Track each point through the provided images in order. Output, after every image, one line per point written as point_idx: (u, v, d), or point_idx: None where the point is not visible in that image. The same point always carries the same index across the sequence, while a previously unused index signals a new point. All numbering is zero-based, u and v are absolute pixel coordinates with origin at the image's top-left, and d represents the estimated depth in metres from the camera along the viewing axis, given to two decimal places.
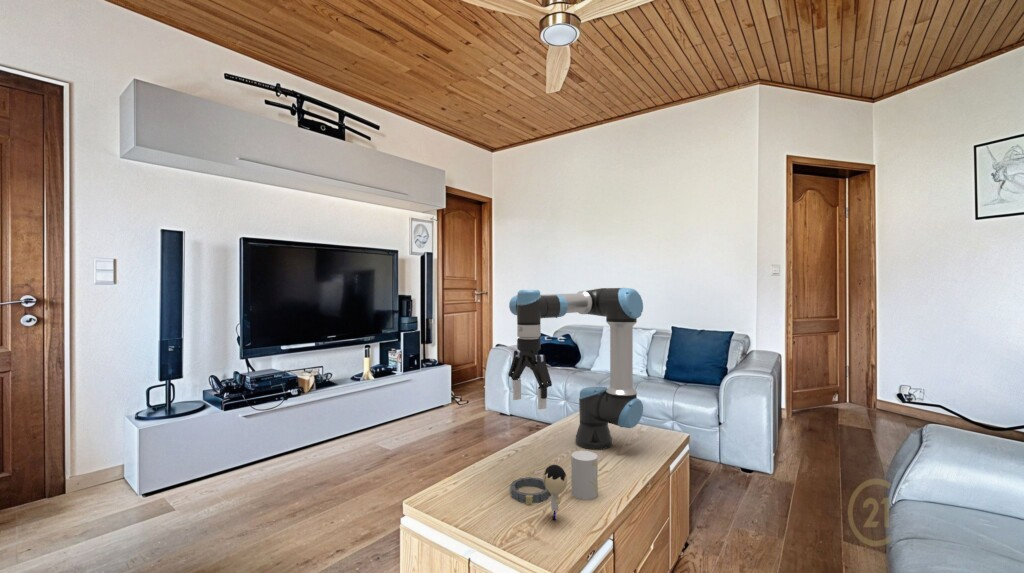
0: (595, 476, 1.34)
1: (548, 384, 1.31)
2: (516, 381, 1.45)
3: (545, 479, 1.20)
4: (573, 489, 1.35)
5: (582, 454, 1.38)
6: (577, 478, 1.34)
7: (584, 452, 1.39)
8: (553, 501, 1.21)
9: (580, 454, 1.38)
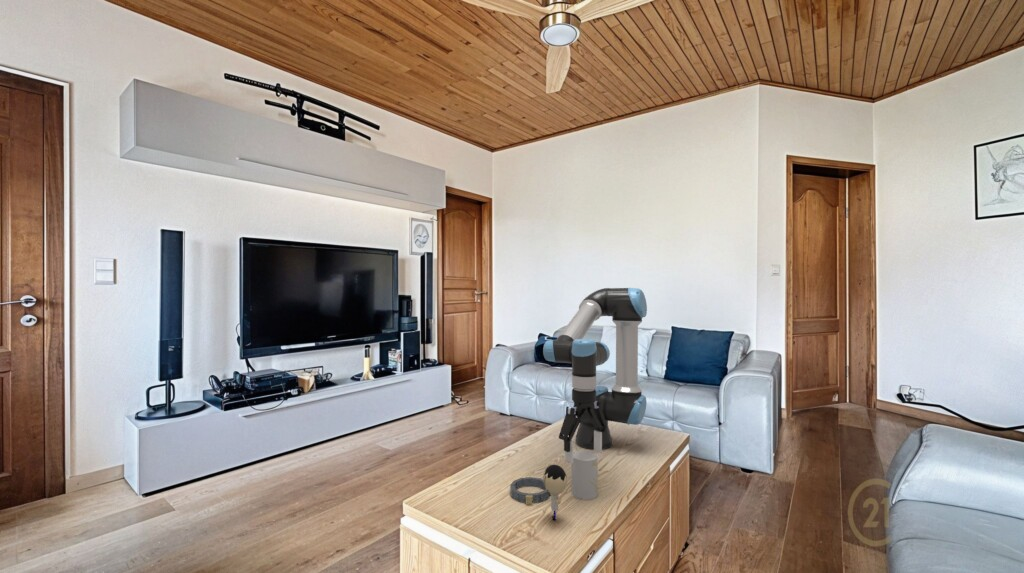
0: (595, 476, 1.34)
1: (561, 437, 1.30)
2: (595, 432, 1.41)
3: (545, 479, 1.20)
4: (573, 489, 1.35)
5: (582, 454, 1.38)
6: (577, 478, 1.34)
7: (584, 452, 1.39)
8: (553, 501, 1.21)
9: (580, 454, 1.38)
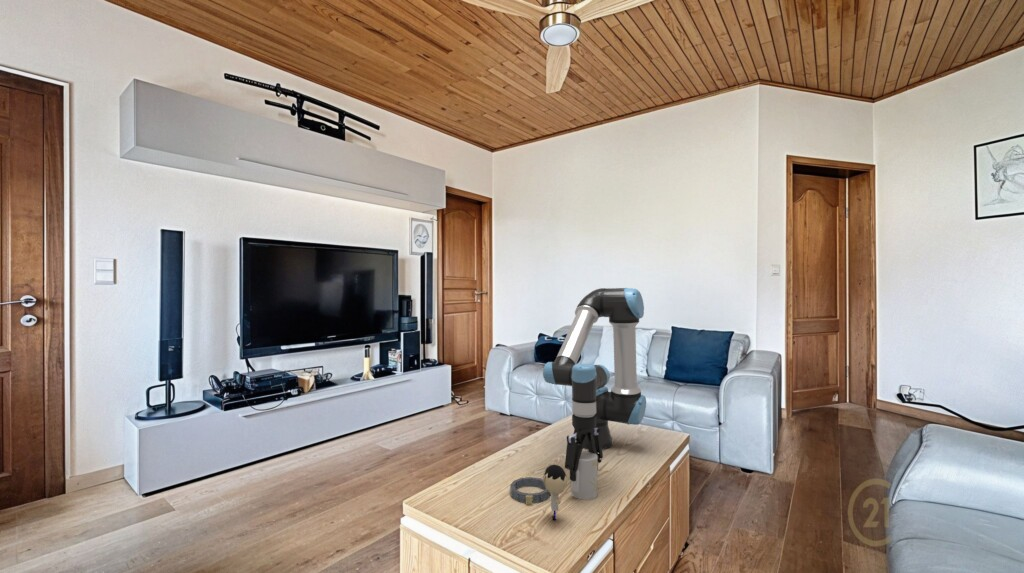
0: (595, 476, 1.34)
1: (567, 467, 1.32)
2: None
3: (545, 479, 1.20)
4: None
5: (582, 454, 1.38)
6: None
7: (584, 452, 1.39)
8: (553, 501, 1.21)
9: None
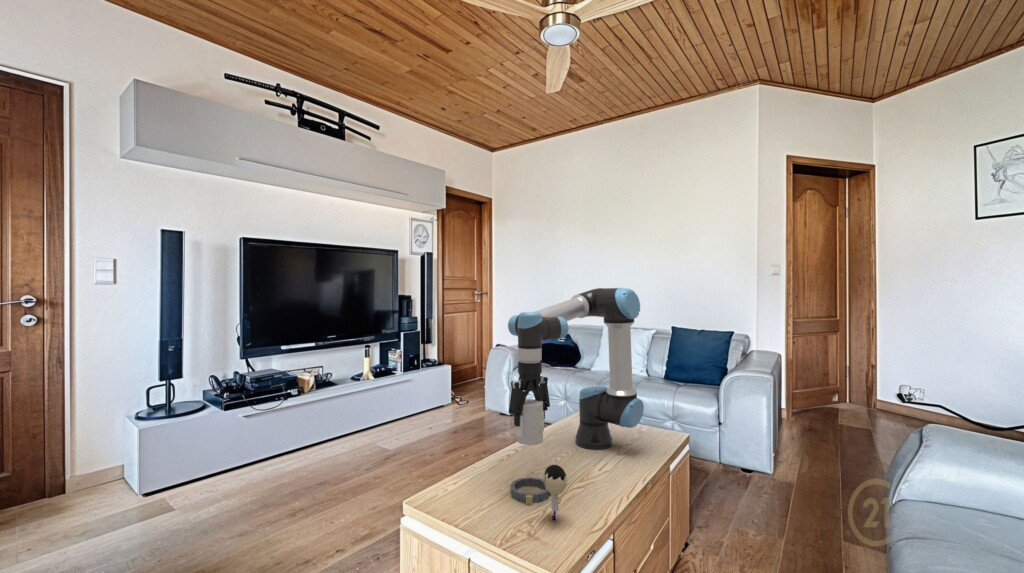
0: (539, 422, 1.34)
1: (511, 412, 1.32)
2: None
3: (545, 479, 1.20)
4: None
5: (528, 401, 1.38)
6: None
7: (531, 400, 1.40)
8: (553, 501, 1.21)
9: (526, 401, 1.38)
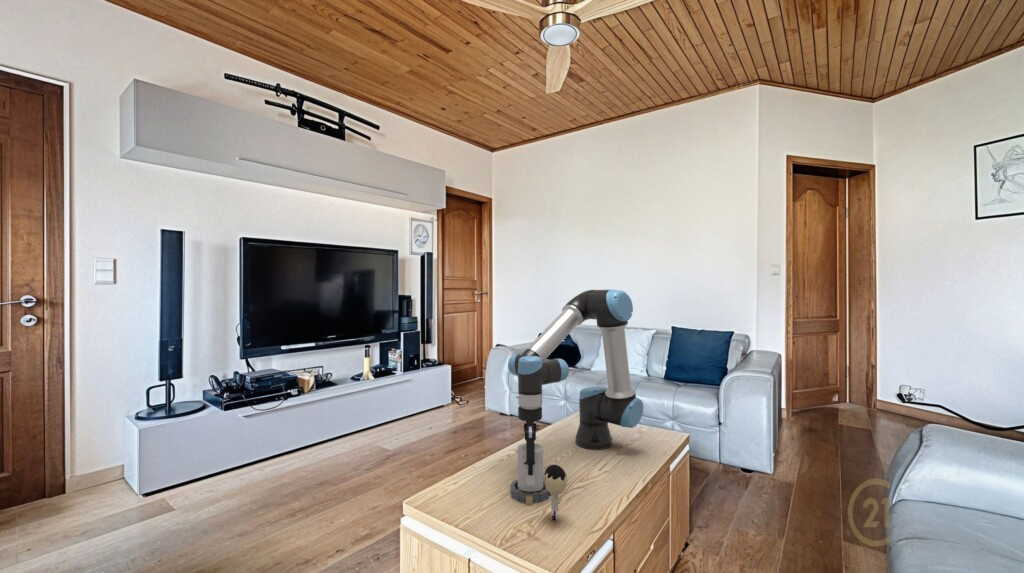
0: None
1: (530, 462, 1.29)
2: None
3: (545, 479, 1.20)
4: None
5: None
6: None
7: (525, 445, 1.39)
8: (553, 501, 1.21)
9: (525, 447, 1.37)
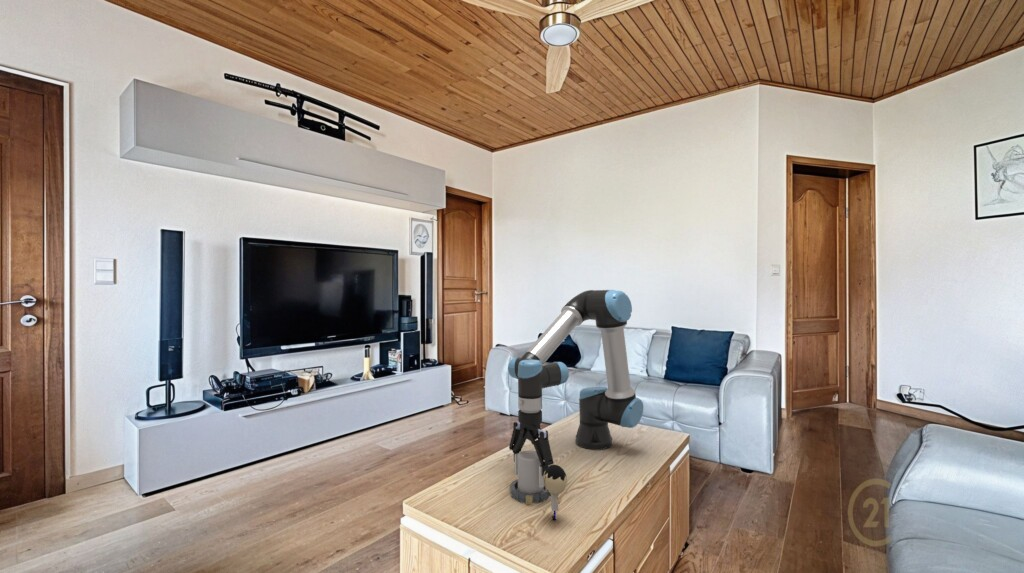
0: None
1: (550, 462, 1.30)
2: None
3: (545, 479, 1.20)
4: (536, 491, 1.33)
5: (527, 456, 1.37)
6: None
7: (522, 454, 1.38)
8: (553, 501, 1.21)
9: (527, 456, 1.36)
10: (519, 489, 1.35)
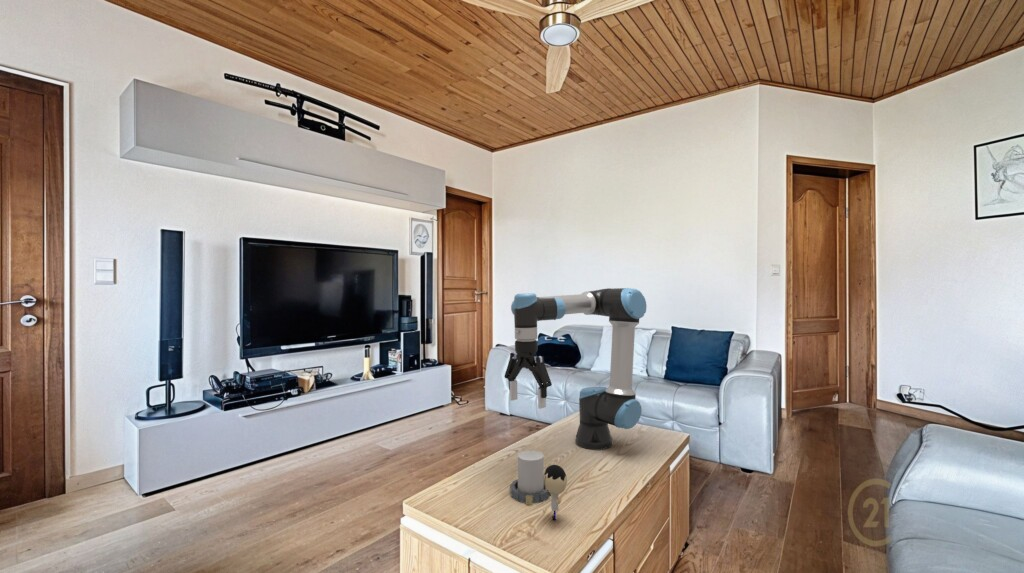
0: None
1: (548, 384, 1.37)
2: (513, 382, 1.49)
3: (545, 479, 1.20)
4: (536, 491, 1.33)
5: (527, 456, 1.37)
6: (540, 477, 1.34)
7: (522, 454, 1.38)
8: (553, 501, 1.21)
9: (527, 456, 1.36)
10: (519, 489, 1.35)
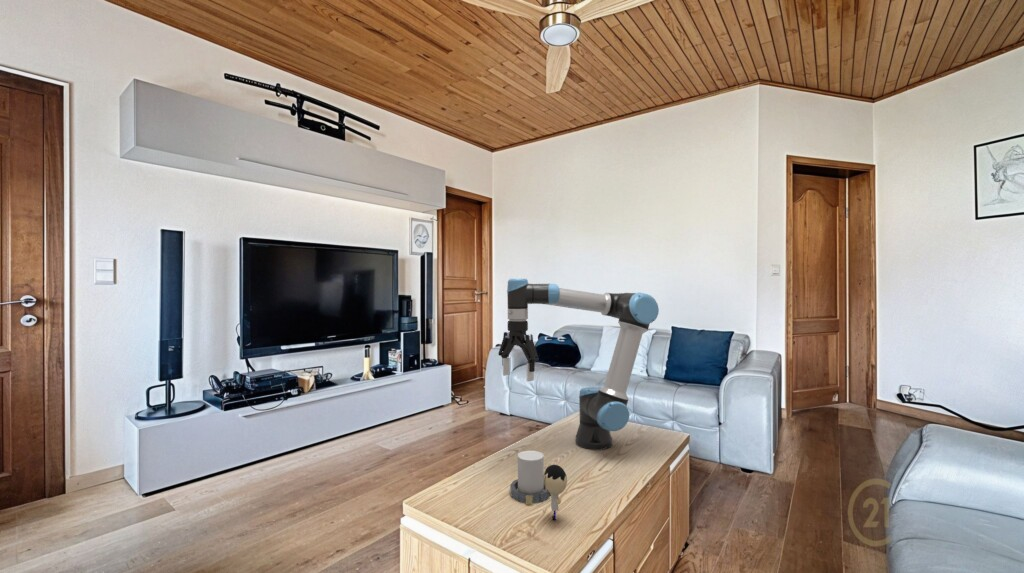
0: None
1: (536, 359, 1.52)
2: (505, 359, 1.65)
3: (545, 479, 1.20)
4: (536, 491, 1.33)
5: (527, 456, 1.37)
6: (540, 477, 1.34)
7: (522, 454, 1.38)
8: (553, 501, 1.21)
9: (527, 456, 1.36)
10: (519, 489, 1.35)
